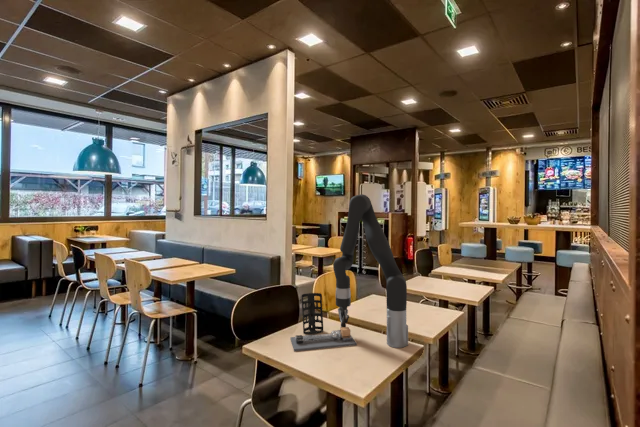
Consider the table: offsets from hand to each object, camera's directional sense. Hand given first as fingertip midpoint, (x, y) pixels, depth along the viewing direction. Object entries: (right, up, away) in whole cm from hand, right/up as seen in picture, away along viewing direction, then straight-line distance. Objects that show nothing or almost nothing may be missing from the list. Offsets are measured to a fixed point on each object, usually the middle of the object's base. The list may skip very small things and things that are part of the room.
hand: (343, 329), depth 172 cm
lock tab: (+1, -1, -4) cm, 4 cm away
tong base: (-10, -3, -5) cm, 12 cm away
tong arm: (-14, -1, -7) cm, 16 cm away
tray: (-11, -4, -6) cm, 13 cm away
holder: (-16, -4, +7) cm, 18 cm away
